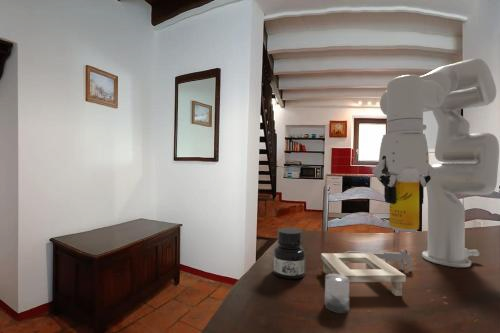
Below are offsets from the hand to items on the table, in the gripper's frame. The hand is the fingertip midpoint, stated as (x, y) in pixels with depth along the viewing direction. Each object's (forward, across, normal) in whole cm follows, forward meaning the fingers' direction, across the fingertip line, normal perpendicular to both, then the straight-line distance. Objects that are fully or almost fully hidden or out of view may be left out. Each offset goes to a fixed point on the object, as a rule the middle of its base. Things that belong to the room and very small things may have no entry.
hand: (403, 202), depth 60 cm
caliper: (+22, -4, -19) cm, 29 cm away
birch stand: (+22, +8, -5) cm, 24 cm away
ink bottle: (+22, +25, -12) cm, 35 cm away
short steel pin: (+22, +19, +5) cm, 29 cm away
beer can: (+7, 0, 0) cm, 7 cm away
